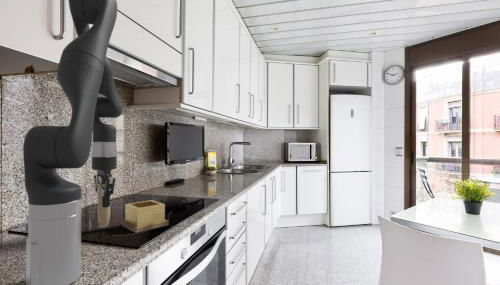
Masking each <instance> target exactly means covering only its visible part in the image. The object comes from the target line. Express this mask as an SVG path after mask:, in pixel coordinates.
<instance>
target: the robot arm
mask: <svg viewBox="0 0 500 285" xmlns="http://www.w3.org/2000/svg"><path fill="white" fill-rule="evenodd" d="M68 6H69V11H70V16H71V19H72V22H73V26H74V29H75V33H76V35H77V37H76V38H74V39H73V40H72V41H70V42H69V43H68V44H67V45H66V46H65V47H64V48H63V50H62V52H61V54H60V59H59V62H58V65H57V70H56V77H57V81H58V83H59V85H60V87H61V89H62V91H63V92H64V95H65V96H66V98H67V100H68V102H69V103H70V107H71V118H70V122H69V124H68V125H35V126H33V127H31V128H30V129H29V130H28V131H27V133H26V135H25V136H24V140H23V149H22V153H23V154H22V155H23V169H24V170H23V171H24V188H25V192H26V194H27V198H28V205H27V206H28V207H27V208H28V210H27V212H28V214H27V227H28V231H27V237H26V240H25V285H72V283H73V284H74V283H75V282H76V281H77V280H79V279H80V277H81V274H82V196H83V195H82V187H81V185H80V184H77V183H74V182H71V181H69V180H66V179H64V178H63V177H61V176H60V175H59V174H58V172H57V169H58V170H59V169H61V170H62V169H63V170H65V169H66V170H67V169H70V170H71V169H72V170H73V169H80V168H83V167H84V166H85V165H86V163H87V162H88V159H89V157H90V154H91V169H92V170H93V171H97V172H96V173H97V174H95V175H93V182H94V184H95V183H100V184H101V188H100V189H101V190H102V207H104V208H105V207H109V206H110V207H111V196H112V195H113V194H114V190H115V184H116V178H115V177H113V173H112V171H113V170H117V168H118V167H117V165H118V163H117V162H118V161H117V160H118V158H117V156H118V147H117V127H116V126H114V125H113V124H107V123H104V122H102V121H101V120H102V119H101V118H106V119H107V118H110V119H111V118H113V119H115V118H119V117H120V116H122V113H123V109H124V108H123V104H122V101H121V100H120V99H121V98H120V96H119V95H118V93H117V90H116V86H115V79H114V78H115V77H114V71H113V67H112V63H111V61H110V59H109V58H108V57H107V53H108V52H107V51H108V48H109V43H110V40H111V37H112V33H113V31H114V28H115V24H116V21H117V18H118V2H117V0H68ZM90 25H92V26H91V27H90ZM99 95H102V96H99ZM102 184H105V188H103V187H102ZM107 190H108V191H107ZM94 191H95V192H96V194H97V195H98V194H99V190H98V189H97V188H96V187H95V186H94Z"/></svg>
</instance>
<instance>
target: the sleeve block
mask: <svg viewBox="0 0 500 285" xmlns="http://www.w3.org/2000/svg"><path fill="white" fill-rule="evenodd" d="M165 213H166V204H165V203H162V202H159V201H156V200H153V199H150V200H143V201H137V202H130V203H125V205H124V218H125V219H124V220H120V224H121V226H122V227H124V228H125V229H128V230H129V231H131V232H133V233H135V234H136V233H140V232H145V231H149V230H150V231H151V230H153V229H157V228H161V227H166V226H169V220H167V219H166V214H165Z"/></svg>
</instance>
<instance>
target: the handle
mask: <svg viewBox="0 0 500 285" xmlns="http://www.w3.org/2000/svg"><path fill="white" fill-rule="evenodd" d="M95 187H96V188H97V189H98V190H99V194H97V208H96V209H97V211H96V212H97V213H96V214H97V226H98V228H99V229H105V228H108V227H109V226H110V225H109V224H110V219H111V205H110V206H109V207H105V208H104V207H102V190H101V189H100V188H101V184H100V183H95V182H94V188H95ZM102 187H103V188H105V184H102ZM107 191H108V190H107Z"/></svg>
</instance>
